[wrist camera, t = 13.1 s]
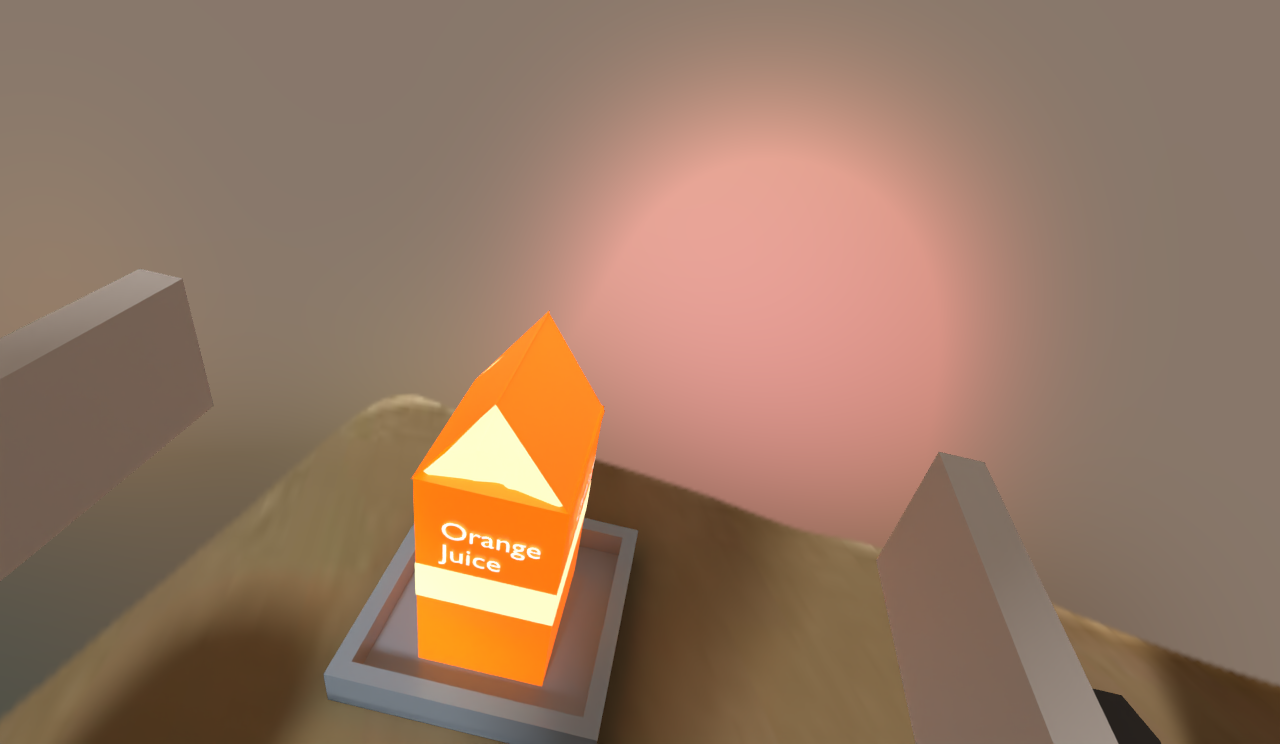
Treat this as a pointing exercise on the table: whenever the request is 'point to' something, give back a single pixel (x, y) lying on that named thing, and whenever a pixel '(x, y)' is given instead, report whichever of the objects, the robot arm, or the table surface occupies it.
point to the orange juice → (505, 510)
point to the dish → (479, 702)
